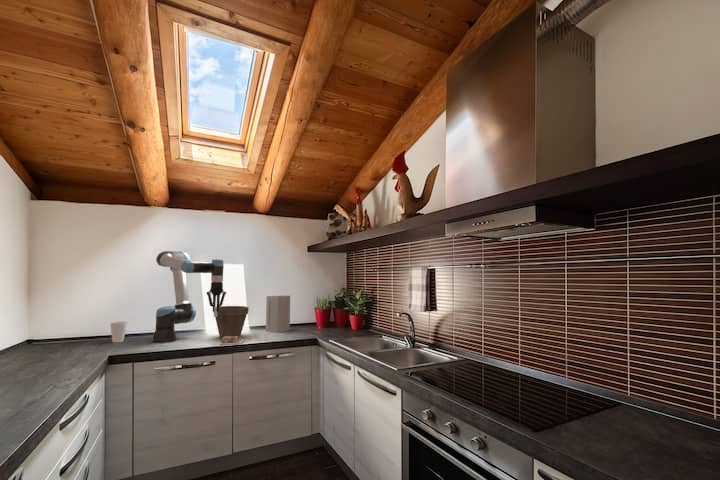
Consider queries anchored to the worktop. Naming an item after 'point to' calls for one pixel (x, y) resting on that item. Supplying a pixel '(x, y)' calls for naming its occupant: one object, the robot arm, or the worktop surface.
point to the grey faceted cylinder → (277, 313)
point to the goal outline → (233, 343)
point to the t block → (230, 339)
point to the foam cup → (118, 331)
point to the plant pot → (231, 320)
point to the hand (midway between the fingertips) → (215, 316)
